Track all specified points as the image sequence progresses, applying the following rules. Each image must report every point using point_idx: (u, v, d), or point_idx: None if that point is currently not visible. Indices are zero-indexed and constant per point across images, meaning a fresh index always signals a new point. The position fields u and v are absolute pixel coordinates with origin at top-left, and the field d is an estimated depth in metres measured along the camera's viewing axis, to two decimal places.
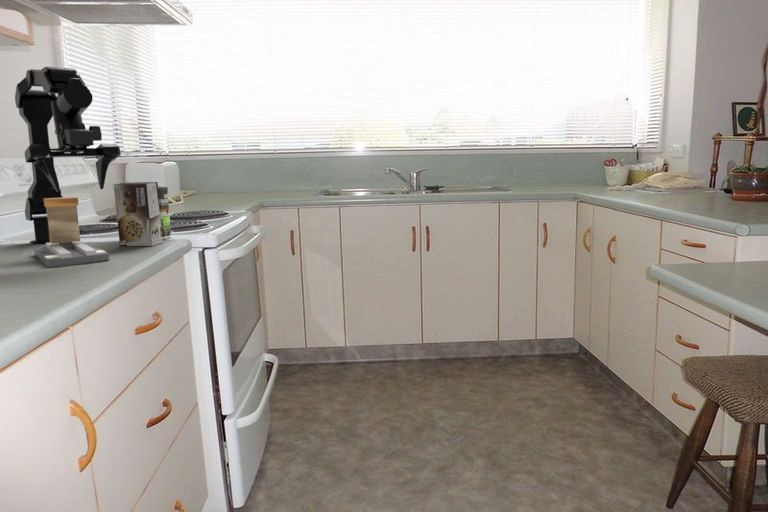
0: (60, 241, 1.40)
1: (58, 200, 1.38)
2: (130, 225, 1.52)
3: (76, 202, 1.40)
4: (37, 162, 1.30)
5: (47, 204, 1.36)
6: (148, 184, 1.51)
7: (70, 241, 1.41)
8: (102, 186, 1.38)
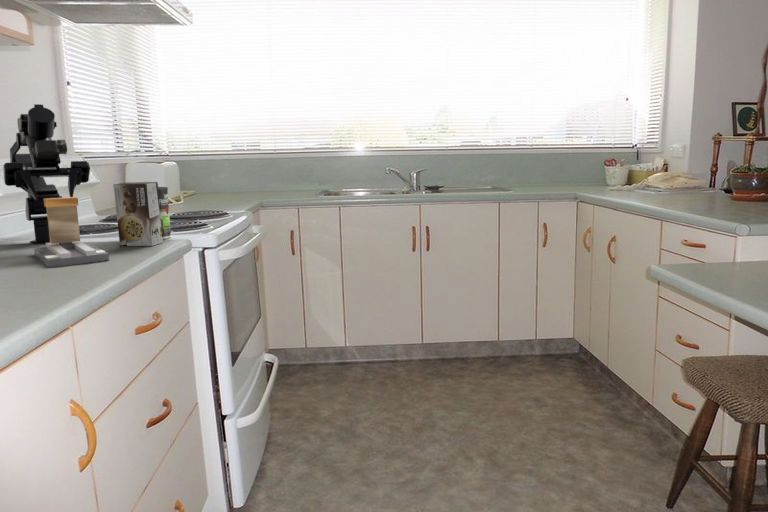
0: (60, 241, 1.40)
1: (58, 200, 1.38)
2: (130, 225, 1.52)
3: (76, 202, 1.40)
4: (16, 178, 1.44)
5: (47, 204, 1.36)
6: (148, 184, 1.51)
7: (70, 241, 1.41)
8: (71, 194, 1.48)
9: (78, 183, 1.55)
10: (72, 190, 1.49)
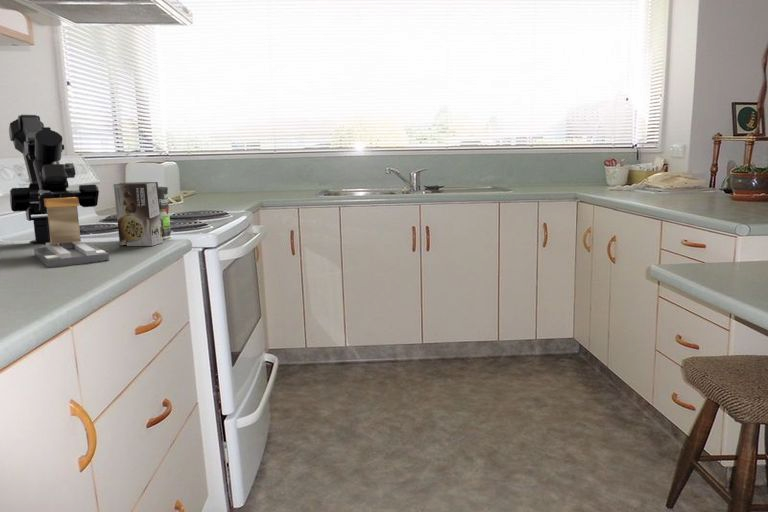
0: (60, 241, 1.39)
1: (58, 200, 1.37)
2: (130, 225, 1.52)
3: (76, 202, 1.40)
4: (41, 202, 1.42)
5: (47, 204, 1.36)
6: (148, 184, 1.51)
7: (70, 241, 1.40)
8: None
9: None
10: None
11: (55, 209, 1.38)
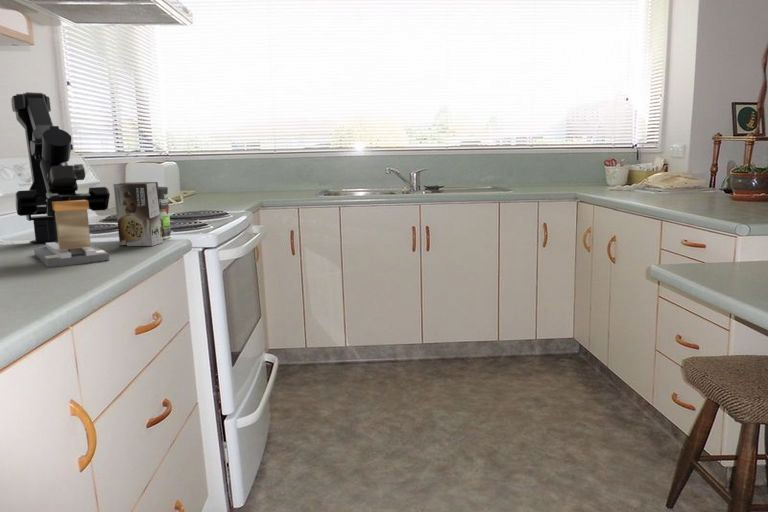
0: (69, 247, 1.31)
1: (67, 203, 1.29)
2: (130, 225, 1.52)
3: (87, 205, 1.31)
4: (48, 206, 1.33)
5: (56, 208, 1.28)
6: (148, 184, 1.51)
7: (80, 247, 1.32)
8: None
9: None
10: None
11: (64, 213, 1.29)
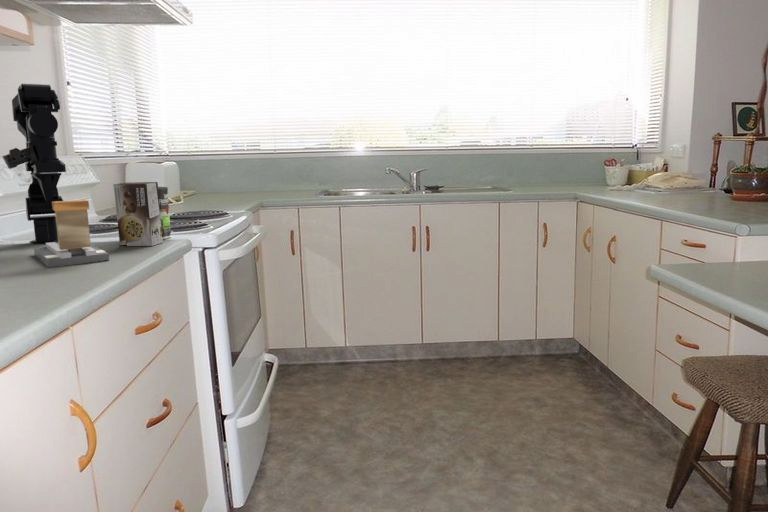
0: (69, 247, 1.31)
1: (67, 203, 1.29)
2: (130, 225, 1.52)
3: (87, 205, 1.31)
4: None
5: (56, 208, 1.28)
6: (148, 184, 1.51)
7: (80, 247, 1.32)
8: (45, 199, 1.48)
9: (58, 175, 1.46)
10: (44, 195, 1.47)
11: (64, 213, 1.29)
